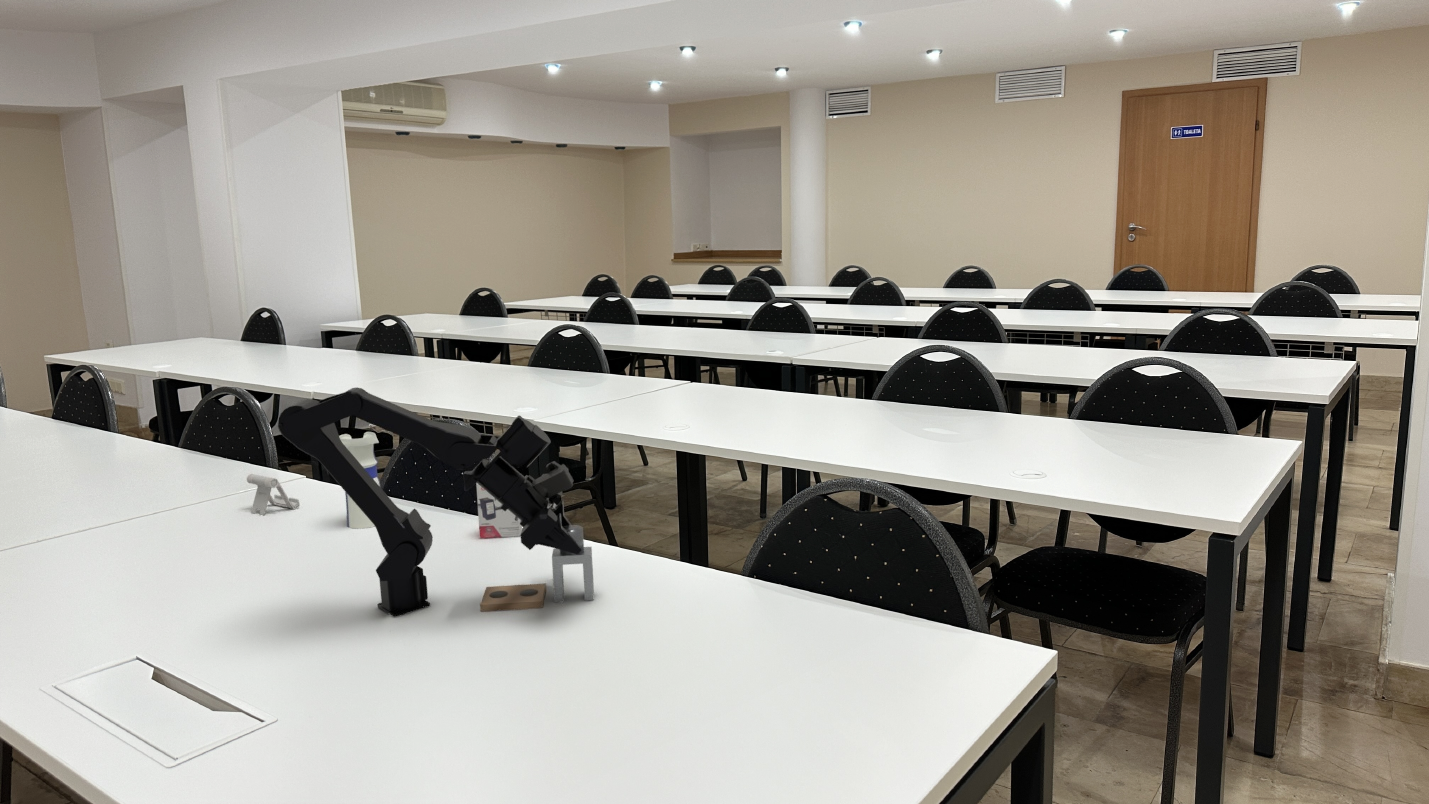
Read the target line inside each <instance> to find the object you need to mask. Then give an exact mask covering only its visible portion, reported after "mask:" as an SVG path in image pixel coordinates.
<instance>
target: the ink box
mask: <svg viewBox="0 0 1429 804" xmlns="http://www.w3.org/2000/svg"><path fill="white" fill-rule="evenodd" d="M475 484H476V485H475V486H476V498H477V499H476V500H477V515H478V517H477V518H478V529H479V530H478V531H479V532H478V533H479V539H480V538H484V539H495V538H494V537H499V538H512V537H513V538H515V537H521V532H522V527H523V526H521V525H520V521H521V520H520V519H519V518H518V517H516V516H515V515H514V514H513V513H512V512H510V511H509V510H508V509H507V510H506V511H504V510H503V509H501V508H500V507H501V505H502V504H501V503H500V502H499V501H497V500H496V499H495V498H494V497H493V496H492V495H490V494H489V493H488V492H487V491H486V490H485V489H483V488H482V487H481V486H480V485H479V484H477V483H475Z"/></svg>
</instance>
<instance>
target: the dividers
mask: <svg viewBox="0 0 1429 804" xmlns="http://www.w3.org/2000/svg"><path fill="white" fill-rule="evenodd" d="M563 528H564V529H565V530H566V531H567V532H568V533H569V535H570V536H571V537H572V538H573V539H574V540H575V541H576V543H577V544H578V545H579V546H580V548H581V551H580V553H579V554H574V553H570V552H567V551H563V550H560V549H556V548H552V552H551V553H552V556H551V564H552V581H553V598H554V600H553V601H554V603H563V602H564V600H565V582H564V565H565V566H567V565H581V564H582V569H583V570H582V574H583V590H584V602H585V601H586V602H587V601H588V602H589V601H594V593H595V588H594V586H595V585H594V568H593V549H592V546H585V543H584V542H585V540H584V527H583V526H582V525H580V524H579V525H578V524H571V525H567V526H563Z"/></svg>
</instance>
